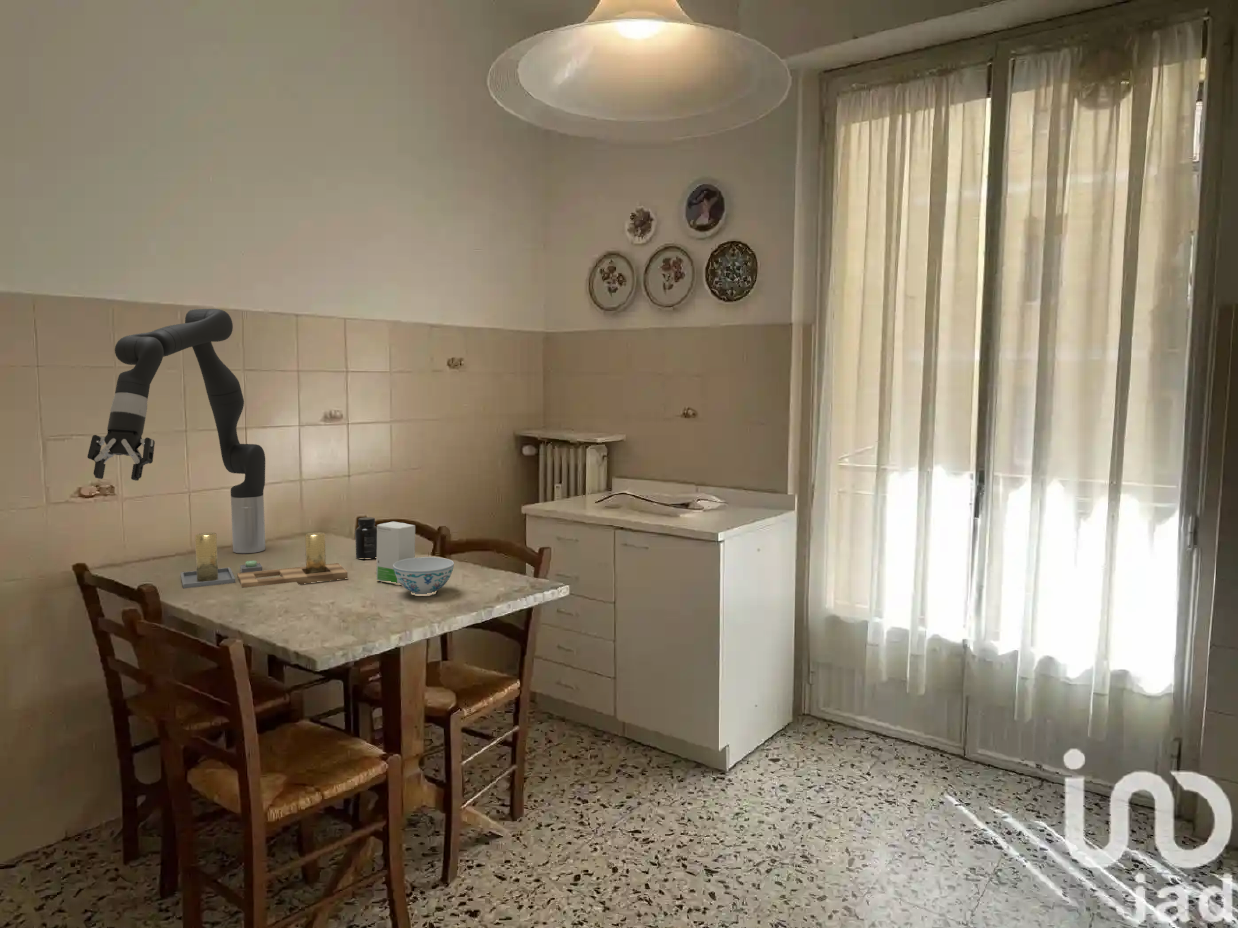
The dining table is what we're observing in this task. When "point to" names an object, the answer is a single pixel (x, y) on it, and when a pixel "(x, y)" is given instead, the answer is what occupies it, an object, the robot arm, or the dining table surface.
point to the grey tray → (191, 581)
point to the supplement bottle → (366, 538)
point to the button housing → (250, 568)
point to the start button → (251, 563)
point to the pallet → (291, 576)
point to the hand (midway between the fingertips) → (116, 479)
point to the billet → (206, 557)
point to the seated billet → (315, 552)
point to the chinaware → (423, 573)
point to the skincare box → (393, 548)
